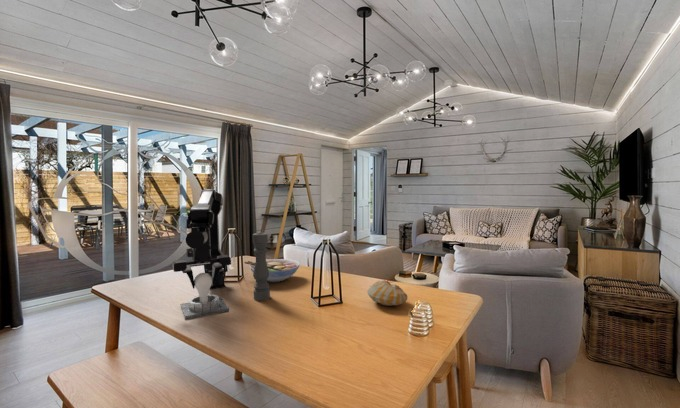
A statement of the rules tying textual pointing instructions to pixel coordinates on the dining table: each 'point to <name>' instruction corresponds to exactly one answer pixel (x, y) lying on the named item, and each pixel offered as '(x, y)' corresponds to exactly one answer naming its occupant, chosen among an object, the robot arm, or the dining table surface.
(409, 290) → the dining table surface
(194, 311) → the bulb socket
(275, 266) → the ramen bowl
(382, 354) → the dining table surface
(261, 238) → the candle holder
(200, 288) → the lightbulb
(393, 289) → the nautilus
